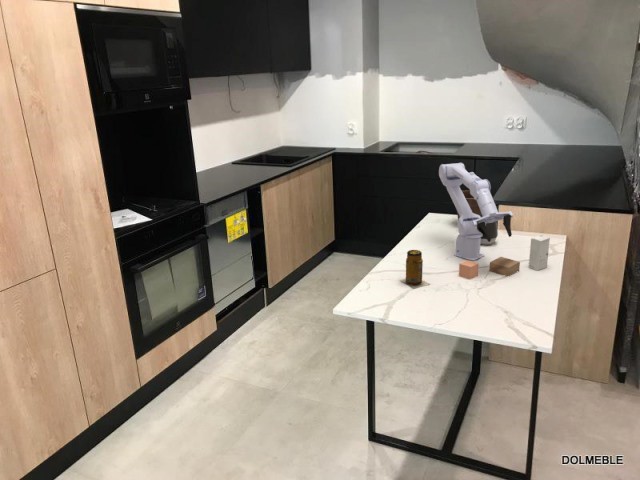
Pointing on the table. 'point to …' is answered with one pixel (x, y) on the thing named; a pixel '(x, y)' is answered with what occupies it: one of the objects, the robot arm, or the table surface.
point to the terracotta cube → (468, 269)
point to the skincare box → (539, 252)
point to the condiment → (414, 269)
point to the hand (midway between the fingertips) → (500, 238)
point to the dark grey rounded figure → (490, 232)
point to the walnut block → (504, 266)
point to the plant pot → (471, 203)
